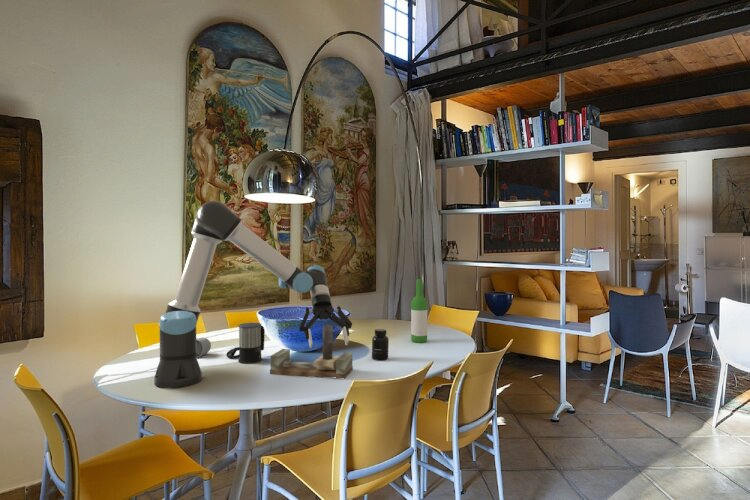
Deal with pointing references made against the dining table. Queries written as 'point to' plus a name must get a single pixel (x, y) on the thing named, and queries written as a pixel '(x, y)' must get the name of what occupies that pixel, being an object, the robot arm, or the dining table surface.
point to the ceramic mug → (202, 346)
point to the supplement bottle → (380, 345)
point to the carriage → (327, 351)
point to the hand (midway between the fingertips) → (329, 344)
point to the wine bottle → (419, 315)
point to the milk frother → (249, 343)
